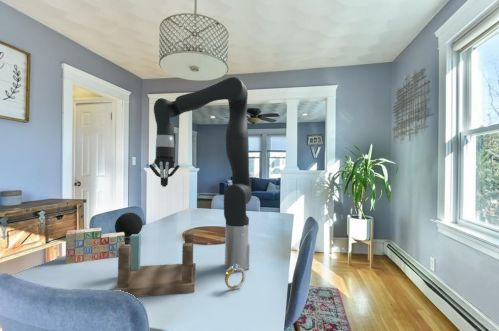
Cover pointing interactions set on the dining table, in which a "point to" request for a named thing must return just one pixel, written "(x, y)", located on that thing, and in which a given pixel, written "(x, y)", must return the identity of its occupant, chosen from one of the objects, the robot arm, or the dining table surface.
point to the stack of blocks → (92, 245)
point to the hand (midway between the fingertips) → (164, 186)
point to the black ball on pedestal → (128, 225)
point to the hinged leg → (135, 251)
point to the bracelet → (228, 273)
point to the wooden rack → (157, 274)
